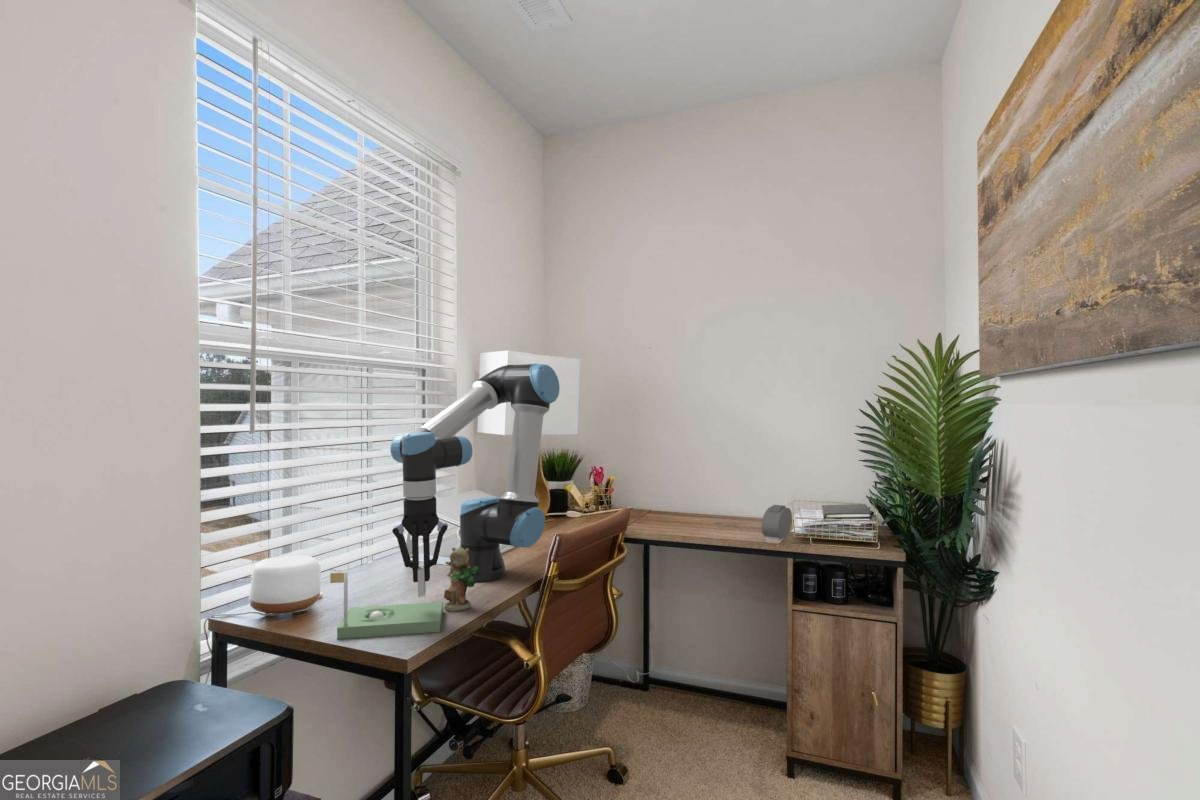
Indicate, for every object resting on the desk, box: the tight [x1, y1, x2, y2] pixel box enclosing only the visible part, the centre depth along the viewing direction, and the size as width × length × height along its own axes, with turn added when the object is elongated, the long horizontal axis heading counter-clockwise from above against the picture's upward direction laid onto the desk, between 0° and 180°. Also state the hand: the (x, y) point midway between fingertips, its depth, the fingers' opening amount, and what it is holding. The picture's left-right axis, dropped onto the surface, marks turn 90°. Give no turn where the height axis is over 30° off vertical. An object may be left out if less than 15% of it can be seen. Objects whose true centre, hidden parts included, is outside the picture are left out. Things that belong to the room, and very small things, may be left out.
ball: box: [369, 611, 384, 619], centre depth 140 cm, size 3×3×3 cm
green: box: [336, 601, 444, 640], centre depth 141 cm, size 22×13×2 cm, turn 101°
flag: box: [329, 571, 349, 626], centre depth 134 cm, size 4×1×12 cm, turn 101°
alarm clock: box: [761, 504, 793, 541], centre depth 228 cm, size 23×6×13 cm, turn 150°
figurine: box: [443, 546, 479, 613], centre depth 152 cm, size 9×8×15 cm
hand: (421, 594), depth 143 cm, fingers closed
